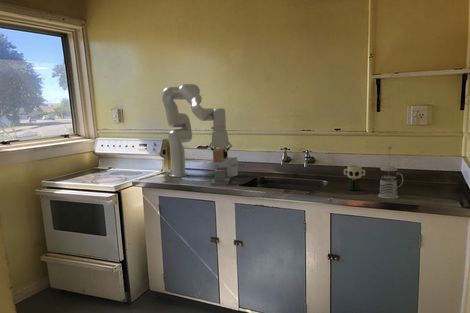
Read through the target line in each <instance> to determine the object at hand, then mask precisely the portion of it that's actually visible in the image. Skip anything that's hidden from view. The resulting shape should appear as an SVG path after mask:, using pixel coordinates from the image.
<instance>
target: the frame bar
mask: <svg viewBox="0 0 470 313" xmlns="http://www.w3.org/2000/svg"><path fill="white" fill-rule="evenodd" d="M228 152H229V150H228V151H227V157H226V158H225V149H224V147H221V148H216V150H214V151H212V156H213V157H212V158H213V159H212V160H213V163H214V164H215V163H218V164H219V163H221V164H223V161H225V160H226V159H228V157H229V154H228Z"/></svg>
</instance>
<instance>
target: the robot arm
mask: <svg viewBox="0 0 470 313" xmlns="http://www.w3.org/2000/svg"><path fill="white" fill-rule="evenodd" d="M200 90H201V89H200V87H199V86H198V85H197V84H195V83H183V84H181V85H180V86H167V87H165V88H164V89H163V90H162V93H161V101H162V104H163V106H164V109H165V116H166V120H167V125H168V127H169V128H175V129H172V130H170V131H169V132H168V135H167V140H168V143H169V148H170V149H169V153H170V169H165V170H164V172H165V174H169V177H172V178H181V177H186V176H188V175H189V173H188V172H186V156H185V155H186V154H185V147H184V145H183V144H184V143H189V142H191V141H192V139H193V132H192V126H191V121H190V118H189V115H187V114H186V113H184V112H182V113H180V112H179V107H178V104H177V103H176V102H175V101H176V100H179V101H180V100H181V101H182V100H185V101H187V103H189V105H190V109H191V113H192V114H193V116H195V117H196V118H197V119H198V120H200V121H202V122H207V121H213V126H211V127H210V129H211V130H213V131H212V133H211V141H210V143H209V144H208V148H209V149H210V150H211V151H212V152H213V151H214V150H216V149H218V148H224V149H225V158H226V157H227V151H228V152H229V150H230V149H231V148H233V144H232V143H231V142H230V140H229V134H228V130H227V124H226V121H227V120H226V110H225V108H223V107H222V108H213V107H212V108H207V107H206V108H203V107H202V105H200V104H201V103H202V100H203V98H202V97H203V96H201V95H200V92H201V91H200ZM174 100H175V101H174ZM177 128H178V129H177Z"/></svg>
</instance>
